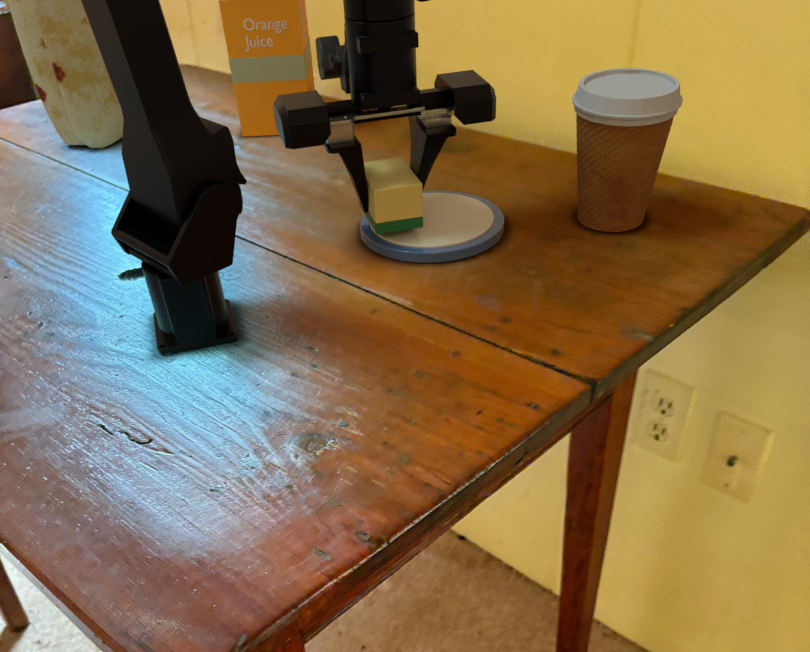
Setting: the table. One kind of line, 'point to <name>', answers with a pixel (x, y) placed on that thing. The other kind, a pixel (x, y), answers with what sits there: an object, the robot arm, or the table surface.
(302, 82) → the orange juice
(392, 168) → the sponge
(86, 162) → the table surface
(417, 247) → the plate
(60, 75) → the food model
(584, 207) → the disposable coffee cup
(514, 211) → the table surface
